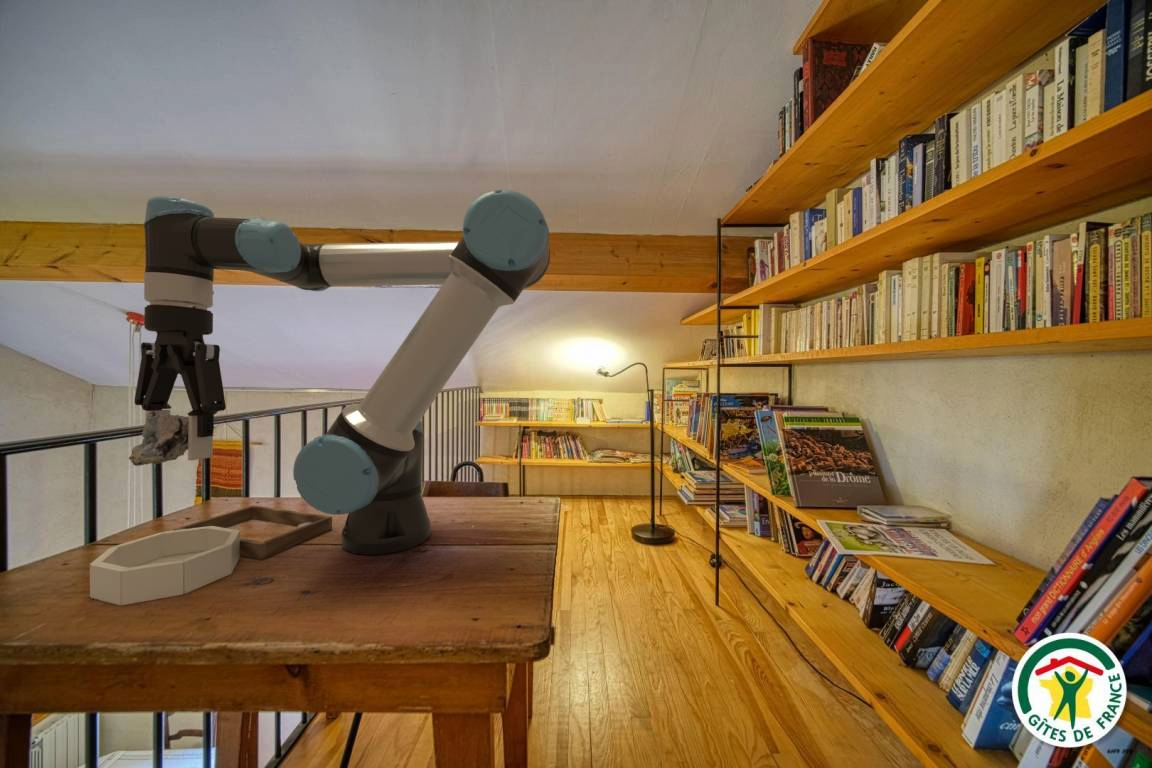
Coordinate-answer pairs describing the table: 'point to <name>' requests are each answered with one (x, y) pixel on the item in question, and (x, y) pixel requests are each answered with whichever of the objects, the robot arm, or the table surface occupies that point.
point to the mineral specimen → (161, 439)
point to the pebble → (303, 524)
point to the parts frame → (272, 515)
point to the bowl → (164, 564)
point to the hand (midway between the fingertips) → (178, 455)
